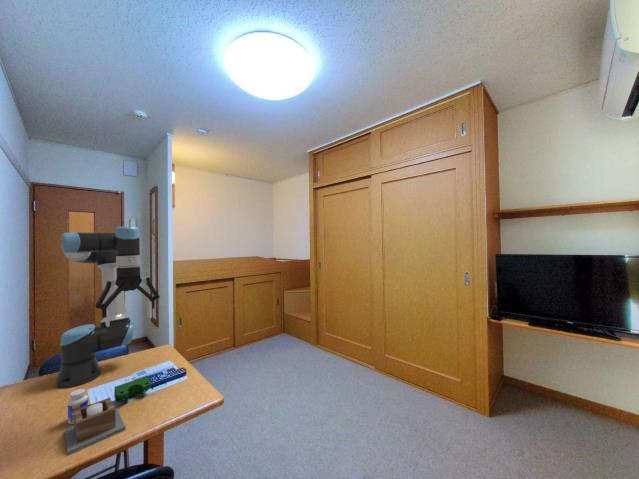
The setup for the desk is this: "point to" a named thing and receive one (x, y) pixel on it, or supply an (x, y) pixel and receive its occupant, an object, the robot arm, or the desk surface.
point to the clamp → (131, 388)
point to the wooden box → (94, 421)
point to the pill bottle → (76, 403)
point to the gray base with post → (74, 446)
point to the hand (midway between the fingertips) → (129, 321)
